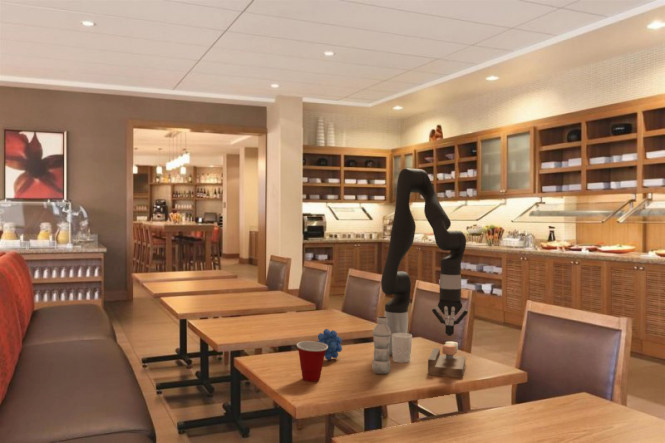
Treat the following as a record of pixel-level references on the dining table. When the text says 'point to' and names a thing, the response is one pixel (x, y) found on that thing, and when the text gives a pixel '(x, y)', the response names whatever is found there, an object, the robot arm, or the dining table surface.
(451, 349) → the peach rounded block
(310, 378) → the plastic cup
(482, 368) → the dining table surface
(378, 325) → the plastic bottle
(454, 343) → the ivory key
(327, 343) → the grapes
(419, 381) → the dining table surface
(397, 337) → the white cup
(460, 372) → the brown wooden block
